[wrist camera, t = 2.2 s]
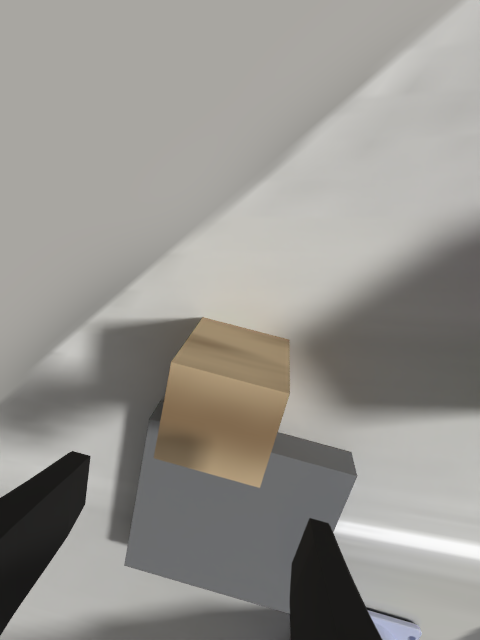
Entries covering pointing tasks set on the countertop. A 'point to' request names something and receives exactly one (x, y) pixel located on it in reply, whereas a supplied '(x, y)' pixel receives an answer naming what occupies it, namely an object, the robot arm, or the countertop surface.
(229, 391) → the oak block
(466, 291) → the countertop surface
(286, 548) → the plate
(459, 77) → the countertop surface
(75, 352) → the countertop surface
